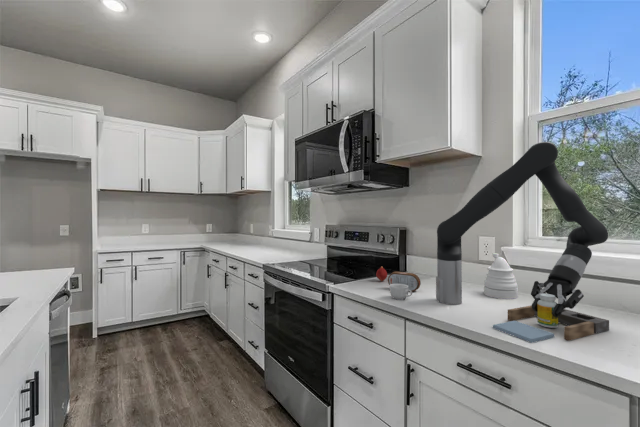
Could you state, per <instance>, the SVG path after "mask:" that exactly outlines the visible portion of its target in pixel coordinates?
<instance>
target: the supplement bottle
mask: <svg viewBox="0 0 640 427" xmlns="http://www.w3.org/2000/svg"><path fill="white" fill-rule="evenodd" d="M540 299H541V300H539V301H538V302H537V314H538V316H537V324H538V325H539V326H542V327H545V328H552V329H553V328H559V323H558V317H554V316H553V315H552V311H553V309H554V307H555V306H556V304H558V303H557V302H556V299H557V298H556V297H555V295H552V294H547V293H546V294H540Z"/></svg>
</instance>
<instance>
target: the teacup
mask: <svg viewBox="0 0 640 427" xmlns="http://www.w3.org/2000/svg"><path fill="white" fill-rule="evenodd" d="M389 293H390V297H391V298H393V299H394V300H397V301H399V300H401V301H402V300H405V299H406V298H407V297H411V296H413V293H412V291H411V290H408V285H404V284H390V285H389ZM409 293H410V294H409Z"/></svg>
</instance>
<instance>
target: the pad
mask: <svg viewBox="0 0 640 427" xmlns="http://www.w3.org/2000/svg"><path fill="white" fill-rule="evenodd" d="M492 329H494V330H497V331H499V330H500V332H502V331H503V333H505V332H506V333H505V334H507V333H508V335H510V334H511V336H512V335H514V336H513V337H515V336H516V337H515V338H517V339H518V338H519V339H520V338H521V340H523V339H524V340H523V341H525V342H528V341H529V343H531V344H533V343H536V341H537V342H540V340H541V341H544V340H548V339H552V338H555V333H554V332H552V331H548V330H544V329H541V328H539V327H535V326H532V325H529V324H528V323H527V324H526V323H523V322H520V321H518V320H514V321H506V322H500V323H496V324H492ZM532 342H533V343H532Z"/></svg>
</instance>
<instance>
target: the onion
mask: <svg viewBox="0 0 640 427" xmlns="http://www.w3.org/2000/svg"><path fill="white" fill-rule="evenodd" d="M375 273H376V274H375V275H376V278H377V279H378V280H379V281H380V282H384V281H385V280H386V279H388V278H387V277H388V272H387V270H386V269H385V268H384V267H383V266H380V267H379V268H378V269H377V271H376V272H375Z"/></svg>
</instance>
